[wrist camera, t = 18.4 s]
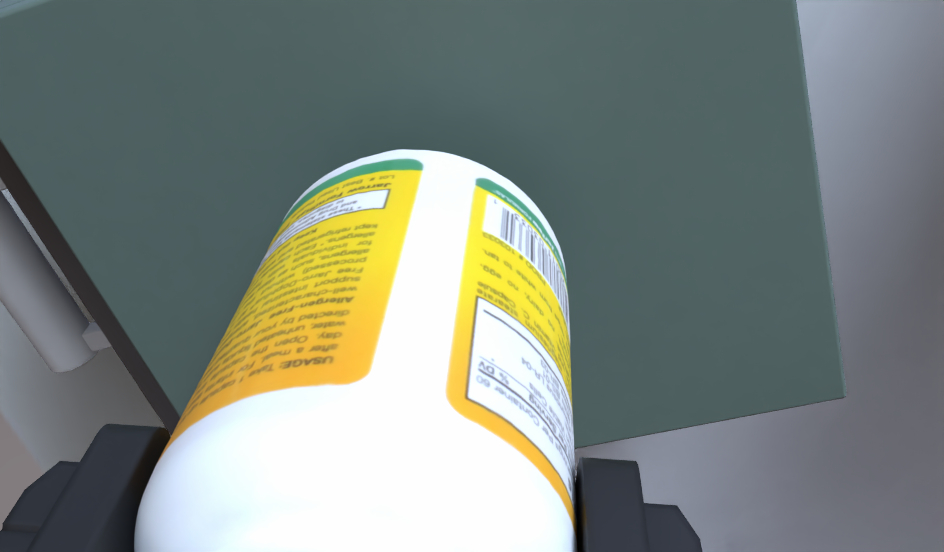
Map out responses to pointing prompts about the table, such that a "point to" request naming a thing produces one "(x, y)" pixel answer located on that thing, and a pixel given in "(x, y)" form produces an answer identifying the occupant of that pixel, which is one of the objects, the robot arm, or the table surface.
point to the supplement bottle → (384, 379)
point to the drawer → (59, 295)
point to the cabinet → (463, 134)
